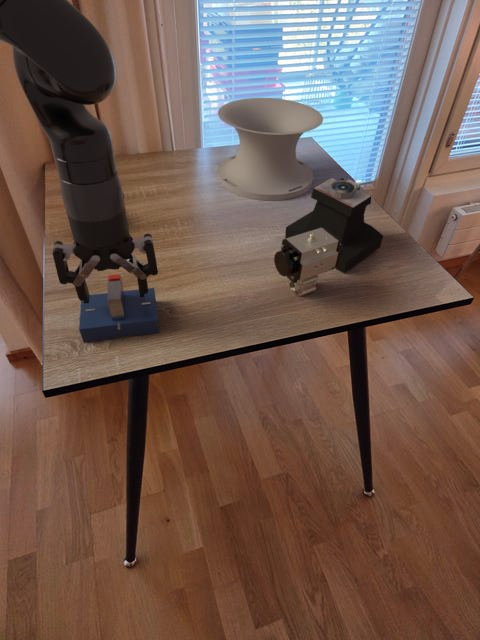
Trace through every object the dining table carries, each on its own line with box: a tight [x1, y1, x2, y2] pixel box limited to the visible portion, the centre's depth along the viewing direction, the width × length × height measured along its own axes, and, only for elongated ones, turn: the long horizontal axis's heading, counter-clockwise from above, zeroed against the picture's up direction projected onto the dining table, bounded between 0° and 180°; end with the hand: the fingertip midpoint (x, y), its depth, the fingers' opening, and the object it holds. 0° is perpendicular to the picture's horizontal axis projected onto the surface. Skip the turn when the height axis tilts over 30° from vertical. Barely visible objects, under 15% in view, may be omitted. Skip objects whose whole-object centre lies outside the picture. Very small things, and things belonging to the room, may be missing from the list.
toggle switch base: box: [78, 287, 161, 343], centre depth 69 cm, size 12×10×3 cm
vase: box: [217, 97, 324, 202], centre depth 104 cm, size 25×25×16 cm
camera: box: [284, 177, 384, 274], centre depth 84 cm, size 16×14×15 cm
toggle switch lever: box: [107, 274, 125, 320], centre depth 66 cm, size 6×2×4 cm, turn 12°
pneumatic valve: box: [273, 227, 343, 297], centre depth 73 cm, size 6×12×12 cm, turn 120°
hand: (115, 296), depth 66 cm, fingers open, 8 cm apart
